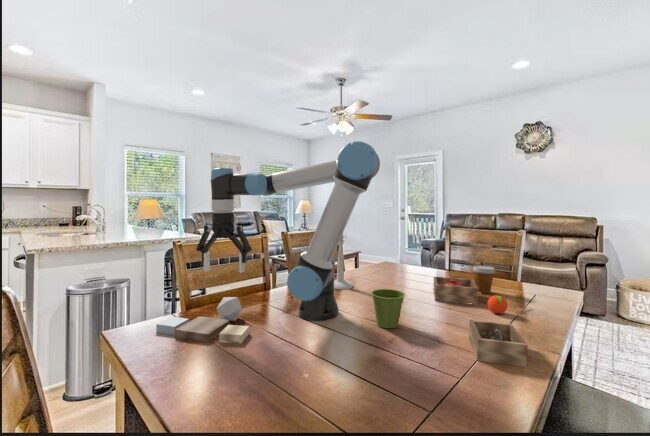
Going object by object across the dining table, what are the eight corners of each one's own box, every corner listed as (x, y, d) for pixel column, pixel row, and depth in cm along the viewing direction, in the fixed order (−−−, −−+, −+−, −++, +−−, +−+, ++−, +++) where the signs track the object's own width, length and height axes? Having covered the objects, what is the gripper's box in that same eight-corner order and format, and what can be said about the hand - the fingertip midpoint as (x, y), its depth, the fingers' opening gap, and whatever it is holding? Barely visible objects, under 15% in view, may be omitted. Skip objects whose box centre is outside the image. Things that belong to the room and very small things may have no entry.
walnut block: (229, 328, 112) (229, 320, 112) (208, 343, 100) (208, 334, 100) (199, 324, 115) (199, 316, 115) (175, 338, 104) (175, 329, 103)
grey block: (189, 327, 112) (188, 318, 112) (174, 335, 106) (174, 326, 105) (171, 325, 114) (171, 316, 114) (156, 333, 107) (156, 324, 107)
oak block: (249, 335, 107) (249, 326, 107) (241, 344, 100) (241, 335, 100) (228, 333, 108) (228, 324, 107) (219, 343, 101) (219, 333, 100)
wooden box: (471, 294, 153) (472, 279, 153) (477, 304, 138) (478, 288, 138) (433, 290, 158) (433, 276, 158) (435, 301, 143) (435, 285, 142)
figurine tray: (510, 343, 102) (511, 324, 102) (526, 367, 88) (527, 345, 87) (469, 338, 105) (469, 319, 105) (477, 360, 91) (478, 339, 90)
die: (228, 327, 113) (245, 303, 116) (208, 313, 114) (225, 289, 117) (234, 327, 121) (249, 304, 124) (215, 314, 122) (231, 291, 125)
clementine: (510, 318, 123) (511, 299, 123) (490, 316, 125) (491, 298, 124) (503, 311, 131) (504, 293, 131) (484, 309, 133) (485, 292, 132)
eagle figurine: (471, 343, 99) (493, 352, 90) (481, 320, 101) (504, 326, 91) (492, 356, 100) (516, 366, 91) (502, 333, 102) (527, 341, 92)
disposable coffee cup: (495, 291, 158) (496, 266, 157) (492, 296, 150) (494, 270, 149) (473, 288, 163) (474, 264, 163) (470, 292, 155) (471, 267, 155)
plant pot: (406, 321, 119) (407, 290, 119) (402, 333, 108) (403, 300, 107) (373, 316, 123) (374, 287, 122) (367, 328, 112) (367, 296, 111)
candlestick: (329, 282, 172) (329, 224, 170) (353, 283, 171) (354, 225, 169) (325, 288, 160) (326, 227, 158) (352, 290, 158) (353, 227, 156)
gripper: (260, 211, 119) (261, 270, 120) (197, 211, 124) (198, 267, 125) (251, 212, 112) (252, 274, 113) (185, 212, 116) (186, 272, 118)
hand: (224, 271), depth 119 cm, fingers open, 13 cm apart
